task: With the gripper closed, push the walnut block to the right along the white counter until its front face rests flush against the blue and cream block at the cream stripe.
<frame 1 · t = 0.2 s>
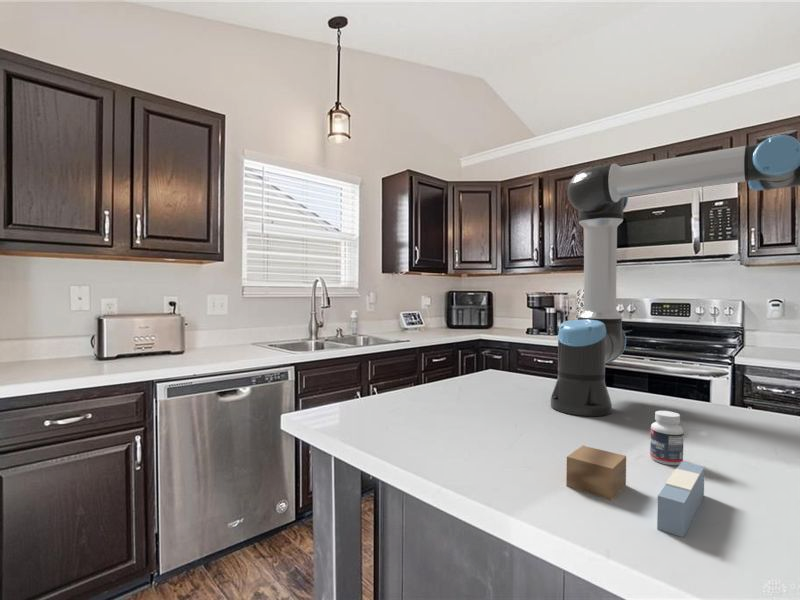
walnut block: (596, 486, 72), on the countertop
pill bottle: (666, 461, 82), on the countertop
blue and cream block: (682, 510, 64), on the countertop
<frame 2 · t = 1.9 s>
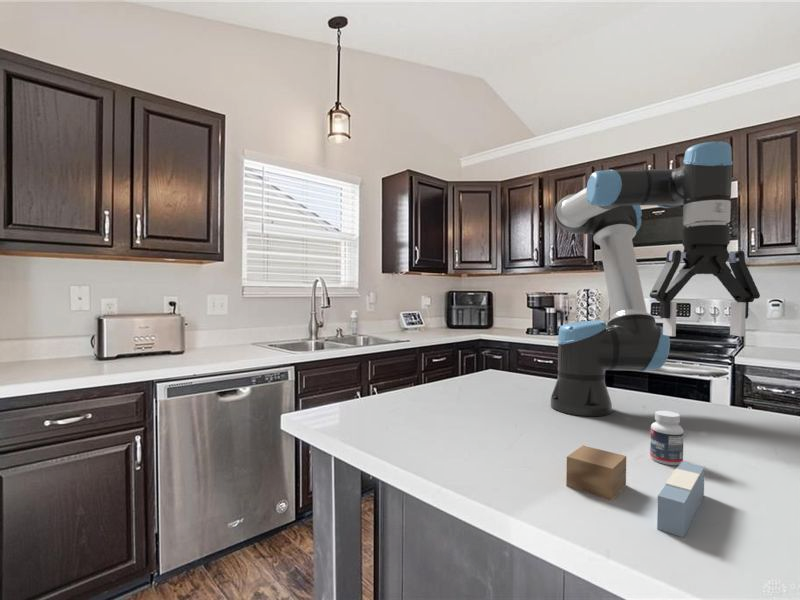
hand: (703, 335, 86), 23 cm above the countertop, fingers open, 13 cm apart
nothing on the countertop moved.
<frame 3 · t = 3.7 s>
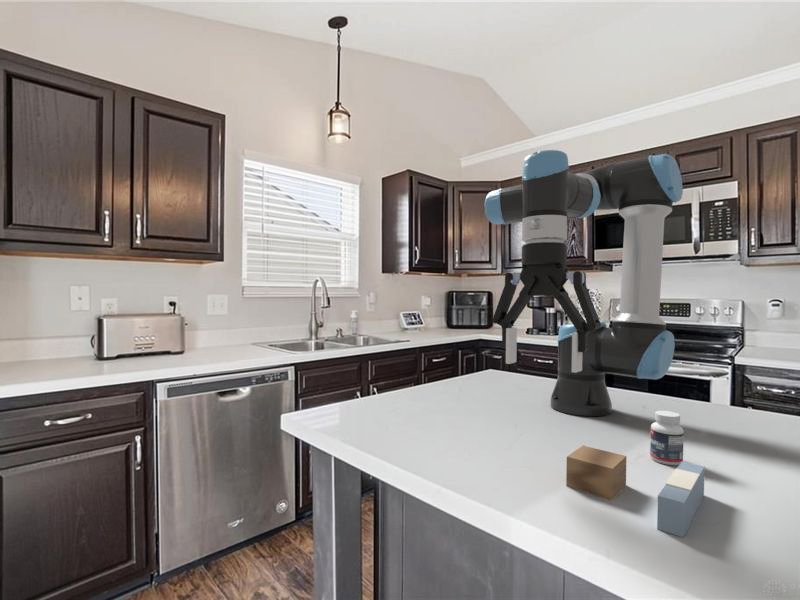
hand: (542, 367, 78), 18 cm above the countertop, fingers open, 11 cm apart
nothing on the countertop moved.
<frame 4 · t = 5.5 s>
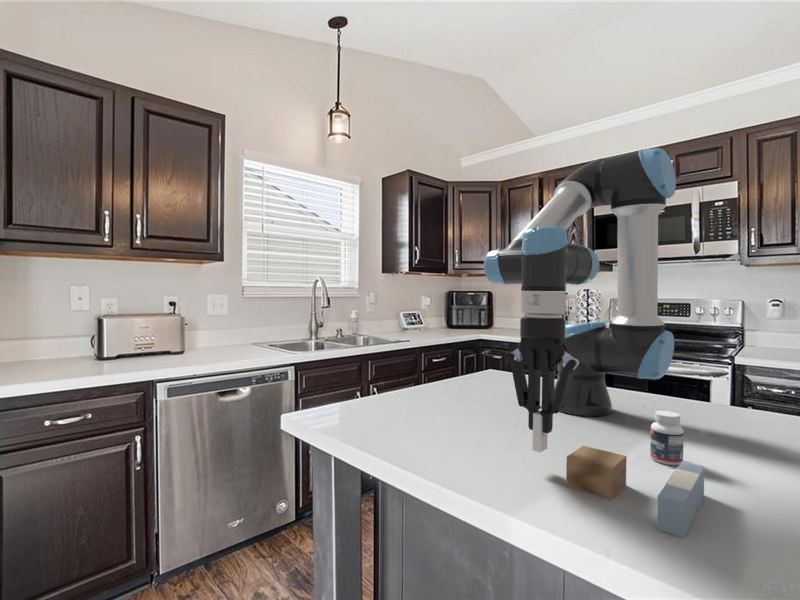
hand: (539, 449, 78), 4 cm above the countertop, fingers closed
nothing on the countertop moved.
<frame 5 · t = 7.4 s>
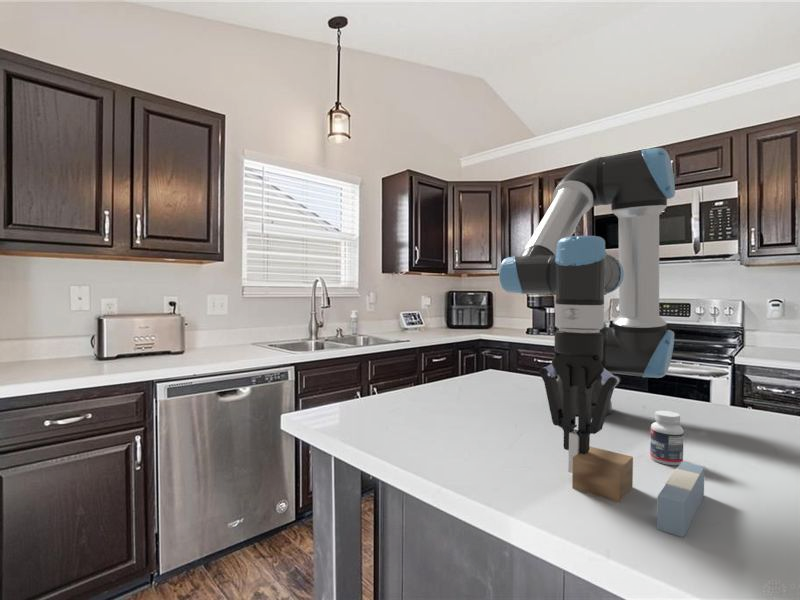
hand: (575, 470, 74), 2 cm above the countertop, fingers closed
walnut block: (602, 487, 71), on the countertop, touching gripper
everything else where it was.
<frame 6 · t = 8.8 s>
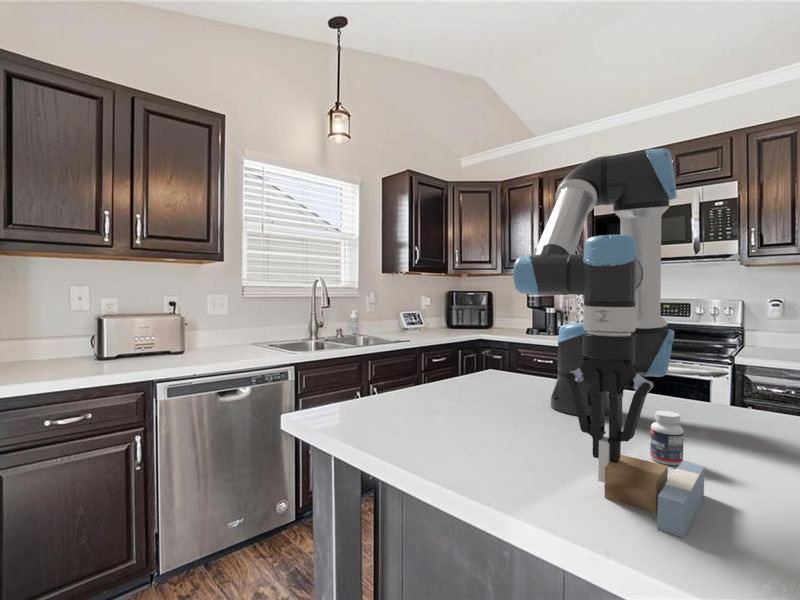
hand: (605, 479, 71), 1 cm above the countertop, fingers closed
walnut block: (635, 498, 68), on the countertop, touching gripper
everything else where it was.
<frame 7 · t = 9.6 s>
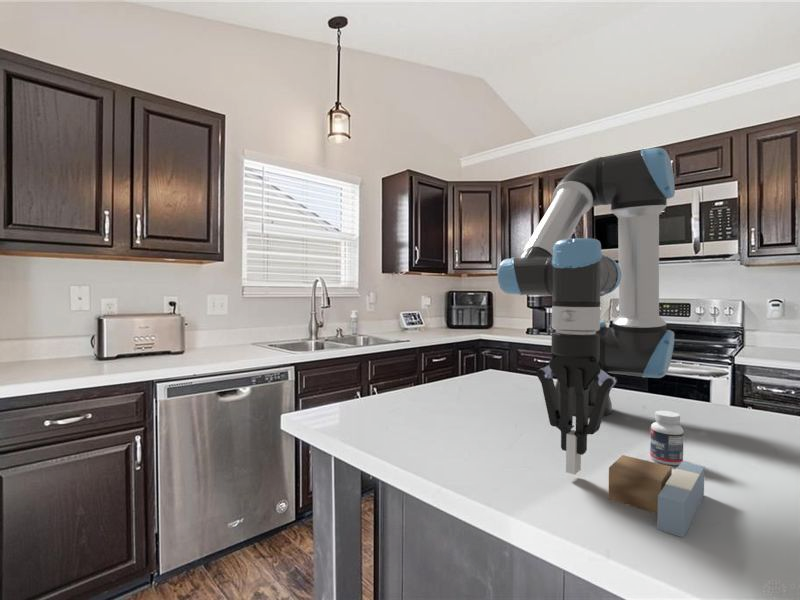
hand: (573, 470, 74), 1 cm above the countertop, fingers closed
walnut block: (639, 499, 67), on the countertop
everything else where it was.
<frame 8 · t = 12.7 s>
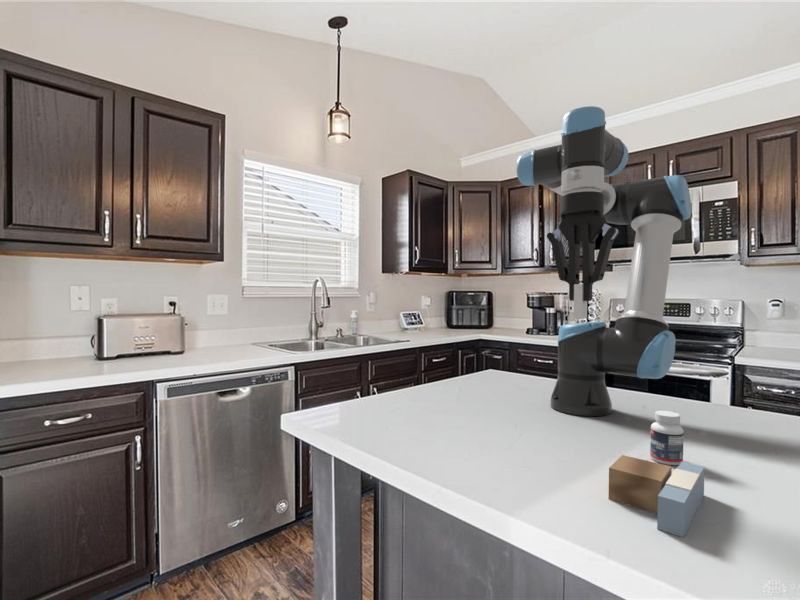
hand: (580, 318, 84), 26 cm above the countertop, fingers closed
nothing on the countertop moved.
at the end: walnut block inside the target area on the countertop beside the blue and cream block (0.4 cm from its centre), on the countertop; walnut block tilted 0° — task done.
